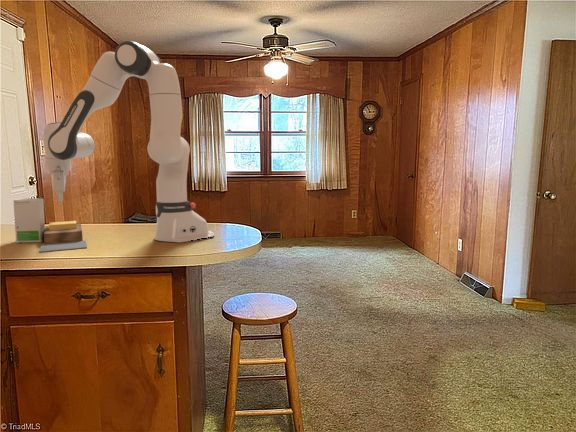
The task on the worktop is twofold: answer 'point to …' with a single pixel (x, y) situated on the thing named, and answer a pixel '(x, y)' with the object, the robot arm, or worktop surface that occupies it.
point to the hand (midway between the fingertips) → (60, 201)
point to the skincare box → (29, 219)
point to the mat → (63, 246)
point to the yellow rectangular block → (62, 225)
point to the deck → (63, 235)
